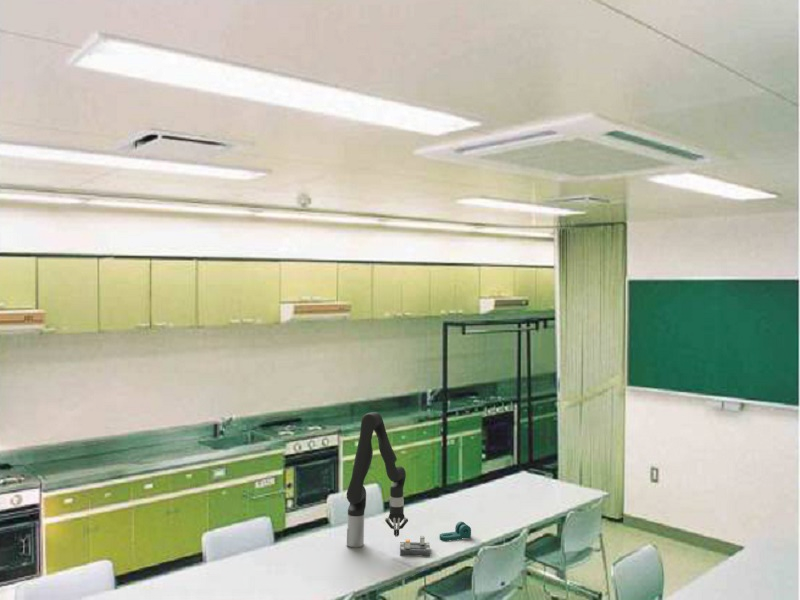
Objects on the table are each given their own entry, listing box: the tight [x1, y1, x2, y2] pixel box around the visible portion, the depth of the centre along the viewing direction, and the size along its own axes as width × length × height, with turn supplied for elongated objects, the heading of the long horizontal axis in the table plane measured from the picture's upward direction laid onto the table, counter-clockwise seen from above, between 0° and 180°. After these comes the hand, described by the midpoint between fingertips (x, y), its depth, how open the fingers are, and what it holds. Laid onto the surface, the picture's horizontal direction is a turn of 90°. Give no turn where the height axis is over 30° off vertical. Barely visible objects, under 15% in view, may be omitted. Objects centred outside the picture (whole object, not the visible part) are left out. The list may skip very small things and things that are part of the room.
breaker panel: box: [399, 541, 431, 557], centre depth 376 cm, size 16×11×3 cm
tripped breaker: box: [405, 538, 411, 549], centre depth 373 cm, size 2×3×4 cm
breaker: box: [419, 535, 426, 545], centre depth 379 cm, size 2×3×4 cm
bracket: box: [439, 521, 472, 542], centre depth 398 cm, size 18×7×8 cm, turn 111°
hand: (396, 536), depth 373 cm, fingers closed
